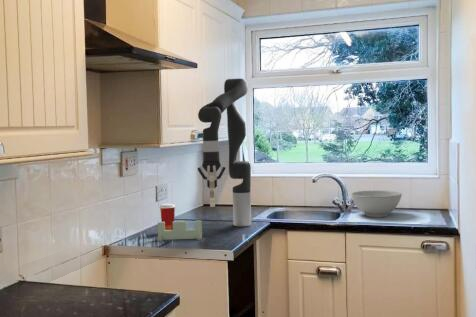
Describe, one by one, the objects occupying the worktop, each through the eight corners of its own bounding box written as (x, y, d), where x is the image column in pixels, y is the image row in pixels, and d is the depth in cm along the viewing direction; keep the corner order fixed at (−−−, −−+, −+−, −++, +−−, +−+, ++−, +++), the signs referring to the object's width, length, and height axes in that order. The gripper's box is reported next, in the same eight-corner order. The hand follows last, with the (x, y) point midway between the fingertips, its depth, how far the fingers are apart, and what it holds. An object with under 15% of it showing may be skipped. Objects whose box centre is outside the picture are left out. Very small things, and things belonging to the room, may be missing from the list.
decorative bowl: (410, 214, 287) (410, 192, 286) (387, 221, 268) (386, 198, 267) (367, 209, 306) (366, 189, 305) (342, 216, 286) (342, 194, 286)
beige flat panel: (211, 201, 247) (209, 170, 246) (215, 201, 247) (214, 170, 246) (210, 206, 231) (209, 173, 230) (214, 206, 231) (213, 173, 230)
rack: (159, 237, 243) (158, 220, 243) (202, 236, 244) (201, 219, 244) (157, 241, 235) (156, 223, 235) (201, 239, 236) (200, 222, 236)
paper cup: (170, 230, 260) (169, 202, 259) (179, 232, 254) (178, 204, 253) (157, 232, 255) (156, 204, 254) (165, 235, 249) (164, 206, 248)
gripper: (225, 149, 242) (227, 186, 243) (196, 150, 241) (197, 187, 242) (226, 150, 234) (227, 188, 235) (195, 151, 234) (196, 189, 235)
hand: (212, 188), depth 239 cm, fingers closed on beige flat panel, 2 cm apart
